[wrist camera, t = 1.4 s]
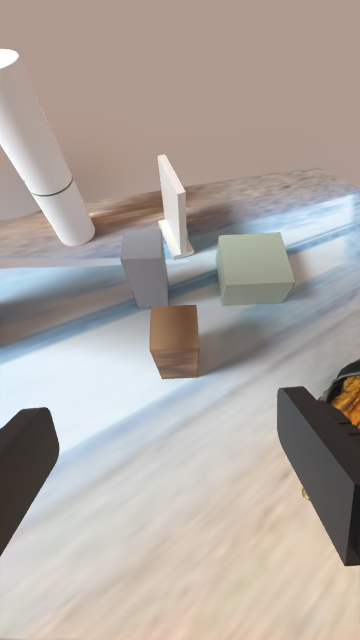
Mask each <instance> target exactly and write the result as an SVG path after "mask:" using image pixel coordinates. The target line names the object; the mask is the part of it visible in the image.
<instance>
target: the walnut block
mask: <svg viewBox="0 0 360 640" xmlns="http://www.w3.org/2000/svg"><path fill="white" fill-rule="evenodd" d="M150 352H151V354H152V356H153V359H154V361H155V363H156V366H157V368H158V370H159V373H160V375H161V378H162V379H173V378H197V368H198V356H199V337H198V322H197V308H196V305H182V306H160V307H151V321H150Z"/></svg>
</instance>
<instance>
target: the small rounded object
mask: <svg viewBox="0 0 360 640" xmlns="http://www.w3.org/2000/svg"><path fill="white" fill-rule="evenodd" d="M320 400H323V401H325V402H327V403H329V404H330V405H332V406H334V407H336V408H338V409H339V410H340V411H341V412H342V413H344V414H345V415H346V416H347V417H348V418H349V419H350V420H351V421H352V424H355V425H356V426H357V427H358V428H359V429H360V359H359V360H357V361H355V362H353V363H351V364H349V365H347V366H346V367H345V368H343V369H342V370H341V371H340V373H339V374H338V376H337V378H336V379H335V380H334V381H333V382H332V383H331V386H330V388H329V389H328V390H327V391H325V392H324V394H323V396H321V397H320V398H319V399H318V400H317V401H320ZM302 495H303V497H305V498H306V499H308V500H309V501H310V499H309V497H308V495H307V493H306V491H305V489H304V488H303V486H302Z"/></svg>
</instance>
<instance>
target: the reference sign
mask: <svg viewBox="0 0 360 640" xmlns="http://www.w3.org/2000/svg"><path fill="white" fill-rule="evenodd" d="M158 163H159V172H160V181H161V190H162V198H163V207H164V216H165V219H163V220H160V221H158V223H159V227H160V229H161V231H162V234H163V236H164V238H165V241H166V243H167V245H168V248H169V250H170V252H171V255H172V257H173V259H174V260H176V259H179V258H183V257H186V256H190V255H193V254H194V250H193V248H192V246H191V243H190V241H189V239H188V229H187V227H186V192H185V190H184V188H183V186H182V185H181V183H180V181H179V179H178V177H177V176H176V174H175V172H174V170H173V168H172V166H171V165H170V163H169V161H168V159H167V157H166V156H165V155H161V156H158Z"/></svg>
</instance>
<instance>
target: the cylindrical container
mask: <svg viewBox="0 0 360 640" xmlns="http://www.w3.org/2000/svg"><path fill="white" fill-rule="evenodd" d="M0 144H1V146H2V147H3V149H4V151H5V152H6V154H7V155H8V157H9V158H10V160H11V162H12V163H13V165H14V167H15V168H16V170H17V171H18V173H19V174H20V176H21V177H22V179H23V181H24V182H25V184H26V186H27V187H28V188H29V190H30V192H31V193H32V195H33V197H34V198H35V200H36V201H37V203H38V205H39V206H40V208H41V209H42V211H43V213H44V214H45V216H46V217H47V219H48V221H49V222H50V224H51V225H52V227H53V228H54V230H55V232H56V233H57V235H58V236H59V238H60V240H61V241H62V242H63V243H64V244H65V245H68V246H80V245H83V244H85V243H87V242H88V241H90V240H91V239H92V238H93V236H94V234H95V227H94V225H93V223H92V221H91V218H90V216H89V214H88V211H87V209H86V207H85V205H84V202H83V200H82V198H81V196H80V193H79V191H78V189H77V187H76V184H75V182H74V180H73V177H72V175H71V173H70V171H69V168H68V166H67V164H66V162H65V159H64V157H63V155H62V152H61V150H60V148H59V146H58V144H57V141H56V139H55V136H54V134H53V132H52V130H51V127H50V125H49V123H48V121H47V118H46V116H45V114H44V111H43V109H42V107H41V105H40V102H39V100H38V98H37V95H36V93H35V91H34V89H33V86H32V84H31V82H30V80H29V77H28V75H27V73H26V70H25V68H24V66H23V64H22V61H21V59H20V57H19V55H18V53H17V52H15V51H13V50H8V49H0Z"/></svg>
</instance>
